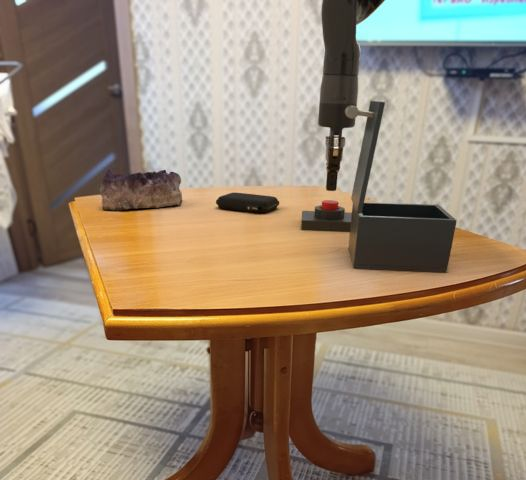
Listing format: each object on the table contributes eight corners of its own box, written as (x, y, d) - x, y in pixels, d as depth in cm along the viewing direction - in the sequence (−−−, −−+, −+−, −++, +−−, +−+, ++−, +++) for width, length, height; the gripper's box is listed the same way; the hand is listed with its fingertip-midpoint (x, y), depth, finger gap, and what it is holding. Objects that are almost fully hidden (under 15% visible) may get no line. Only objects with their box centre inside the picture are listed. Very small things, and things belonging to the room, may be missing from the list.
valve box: (430, 251, 97) (438, 204, 93) (446, 272, 85) (456, 220, 81) (348, 248, 98) (352, 201, 94) (353, 268, 86) (358, 216, 82)
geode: (112, 215, 118) (103, 170, 115) (97, 213, 127) (88, 171, 124) (190, 204, 128) (184, 161, 125) (171, 202, 138) (165, 163, 134)
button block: (353, 222, 118) (355, 204, 116) (357, 232, 109) (359, 213, 107) (301, 220, 118) (302, 202, 117) (301, 230, 109) (302, 211, 108)
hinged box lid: (375, 100, 86) (345, 96, 86) (385, 102, 75) (351, 97, 75) (355, 199, 93) (328, 195, 93) (361, 213, 82) (331, 209, 82)
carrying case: (210, 209, 126) (264, 216, 121) (210, 197, 125) (264, 203, 120) (230, 202, 135) (281, 208, 130) (230, 190, 134) (282, 196, 128)
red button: (337, 208, 113) (338, 200, 113) (338, 211, 110) (338, 203, 109) (321, 207, 114) (321, 199, 113) (321, 211, 110) (322, 203, 110)
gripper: (360, 102, 96) (350, 196, 104) (354, 101, 108) (346, 186, 116) (320, 101, 96) (313, 195, 104) (318, 100, 108) (313, 184, 116)
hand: (330, 190), depth 110 cm, fingers closed
